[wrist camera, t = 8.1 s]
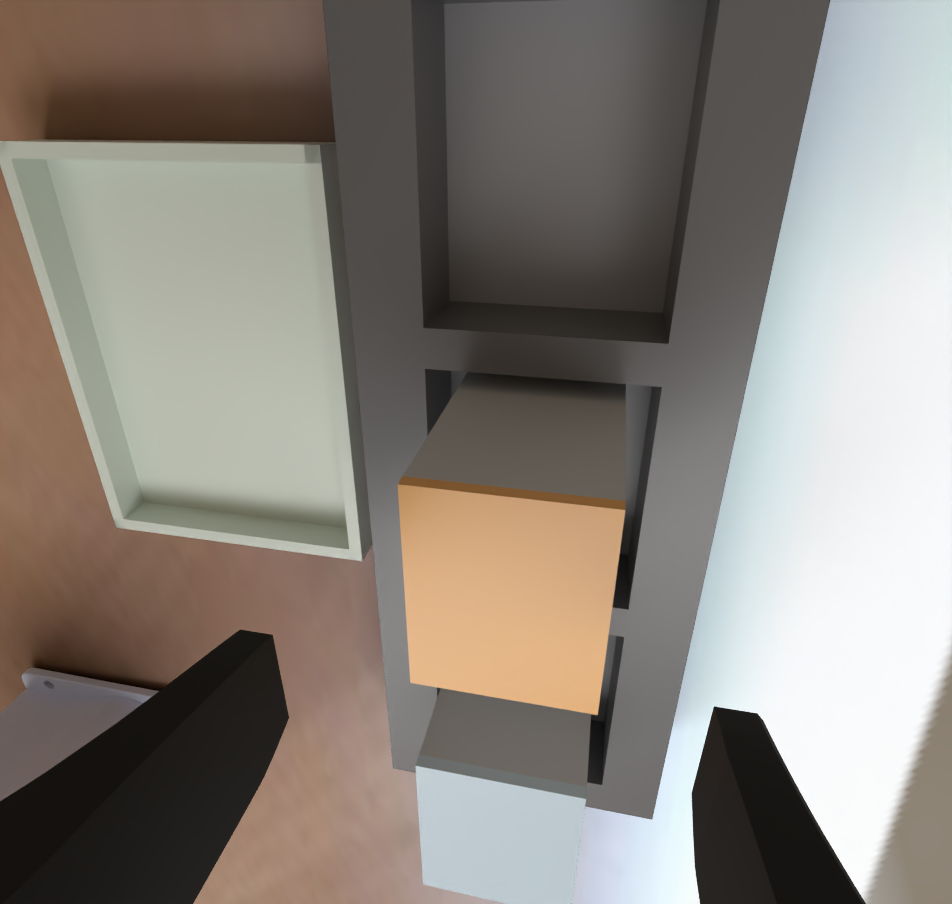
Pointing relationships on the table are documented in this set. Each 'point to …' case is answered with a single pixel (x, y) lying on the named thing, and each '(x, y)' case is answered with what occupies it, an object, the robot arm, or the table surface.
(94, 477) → the table surface
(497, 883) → the twin plug
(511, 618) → the plug
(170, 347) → the tray
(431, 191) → the grey slotted rack
